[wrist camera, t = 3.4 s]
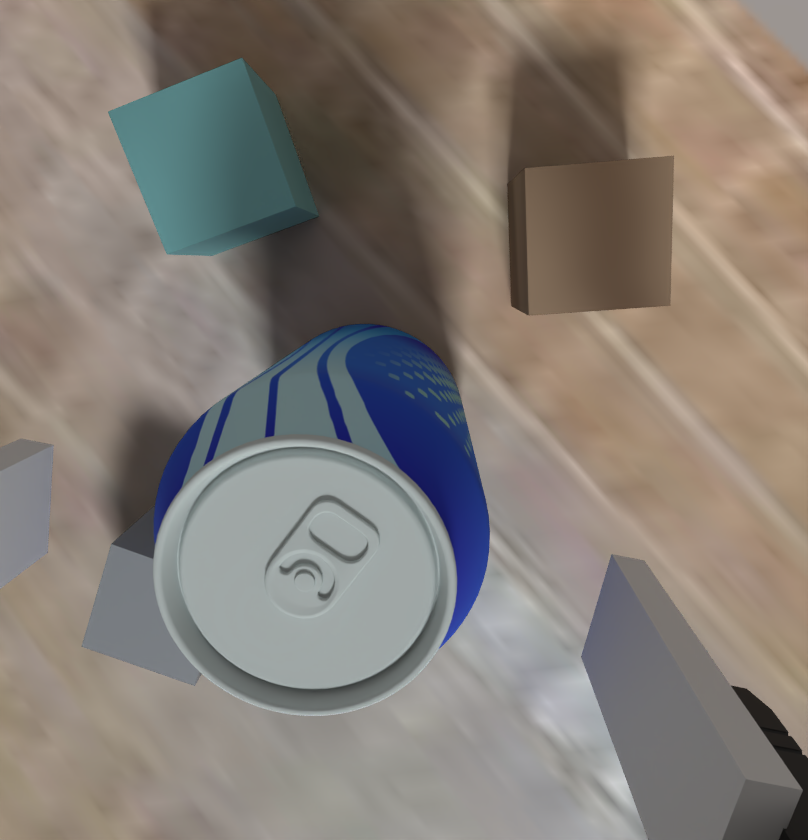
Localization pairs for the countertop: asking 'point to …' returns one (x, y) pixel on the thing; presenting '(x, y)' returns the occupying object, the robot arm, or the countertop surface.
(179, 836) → the countertop surface
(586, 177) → the walnut cube
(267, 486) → the beer can
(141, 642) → the grey cube
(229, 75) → the teal cube
